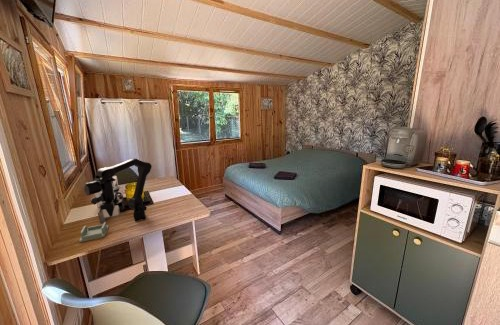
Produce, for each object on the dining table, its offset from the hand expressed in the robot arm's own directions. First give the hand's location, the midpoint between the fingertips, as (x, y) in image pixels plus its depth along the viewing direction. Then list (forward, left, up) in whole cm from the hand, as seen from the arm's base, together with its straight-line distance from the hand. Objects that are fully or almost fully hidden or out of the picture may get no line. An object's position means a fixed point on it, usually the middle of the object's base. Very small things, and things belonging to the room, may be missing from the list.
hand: (111, 214), depth 127 cm
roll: (0, 0, -1) cm, 1 cm away
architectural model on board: (+9, -21, -12) cm, 26 cm away
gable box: (+11, -56, -11) cm, 58 cm away
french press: (+3, -34, -11) cm, 36 cm away
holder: (+10, -1, -11) cm, 15 cm away
